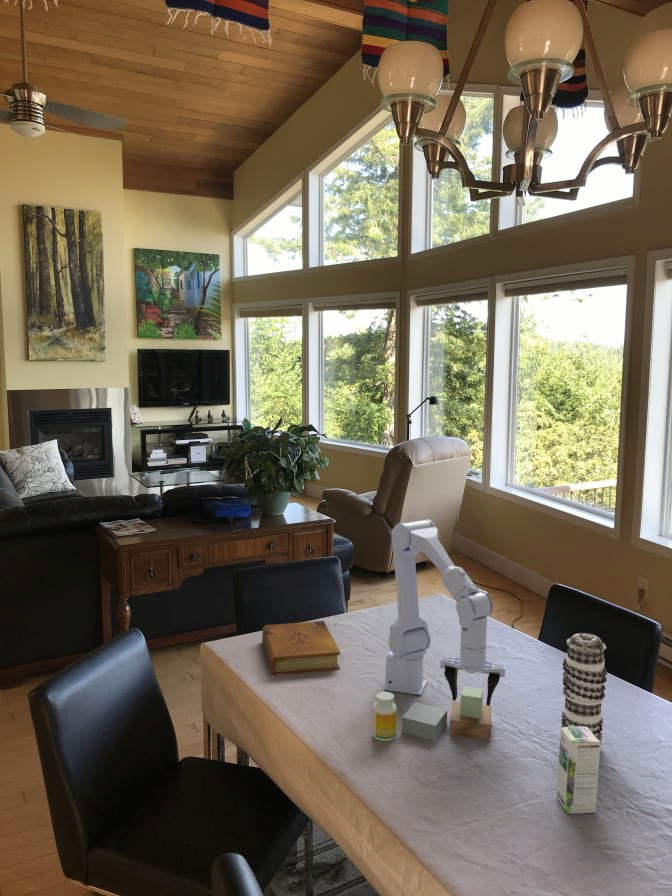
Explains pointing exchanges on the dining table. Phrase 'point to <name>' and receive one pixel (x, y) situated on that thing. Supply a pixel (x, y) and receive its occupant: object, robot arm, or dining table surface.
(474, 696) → the sage block
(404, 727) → the slate block
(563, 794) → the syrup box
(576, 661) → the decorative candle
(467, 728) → the walnut block
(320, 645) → the diary
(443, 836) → the dining table surface
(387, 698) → the supplement bottle
